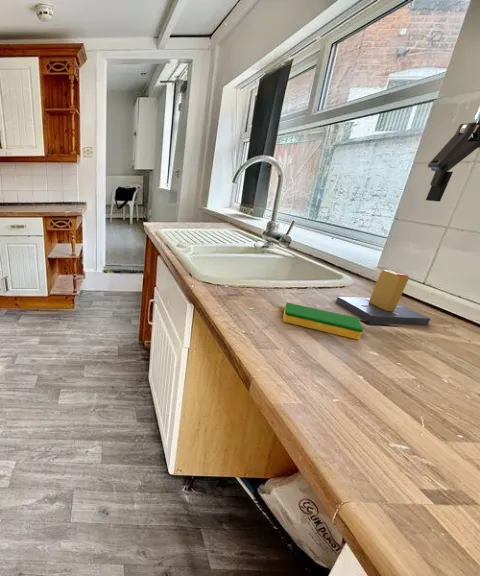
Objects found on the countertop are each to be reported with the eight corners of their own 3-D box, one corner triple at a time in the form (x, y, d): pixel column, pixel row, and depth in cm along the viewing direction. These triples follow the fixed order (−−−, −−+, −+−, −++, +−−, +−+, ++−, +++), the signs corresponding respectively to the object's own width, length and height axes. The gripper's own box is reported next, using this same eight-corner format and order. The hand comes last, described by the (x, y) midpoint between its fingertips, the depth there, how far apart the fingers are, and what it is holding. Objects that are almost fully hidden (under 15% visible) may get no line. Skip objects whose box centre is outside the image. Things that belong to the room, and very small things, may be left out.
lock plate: (384, 307, 79) (388, 298, 78) (426, 328, 69) (431, 317, 68) (334, 305, 80) (337, 295, 79) (368, 325, 69) (372, 315, 68)
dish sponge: (283, 310, 75) (286, 301, 74) (354, 327, 68) (358, 317, 68) (282, 321, 69) (285, 312, 68) (359, 340, 63) (363, 330, 62)
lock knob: (368, 302, 76) (382, 268, 73) (376, 302, 76) (390, 269, 73) (385, 310, 71) (401, 275, 68) (394, 311, 71) (410, 275, 68)
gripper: (469, 92, 61) (423, 201, 69) (596, 97, 61) (535, 206, 69) (432, 99, 68) (394, 198, 76) (545, 104, 68) (496, 202, 76)
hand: (461, 202), depth 72 cm, fingers open, 13 cm apart
